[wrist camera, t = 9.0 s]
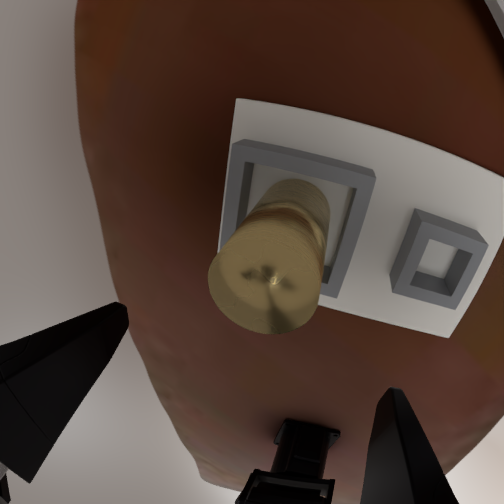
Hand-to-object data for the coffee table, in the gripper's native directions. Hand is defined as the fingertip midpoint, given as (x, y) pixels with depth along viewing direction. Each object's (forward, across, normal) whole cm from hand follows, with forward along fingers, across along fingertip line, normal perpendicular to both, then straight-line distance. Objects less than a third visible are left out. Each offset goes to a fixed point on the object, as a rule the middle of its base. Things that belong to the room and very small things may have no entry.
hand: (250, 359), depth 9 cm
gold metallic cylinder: (+11, +1, -1) cm, 11 cm away
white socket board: (+12, -4, -1) cm, 12 cm away
